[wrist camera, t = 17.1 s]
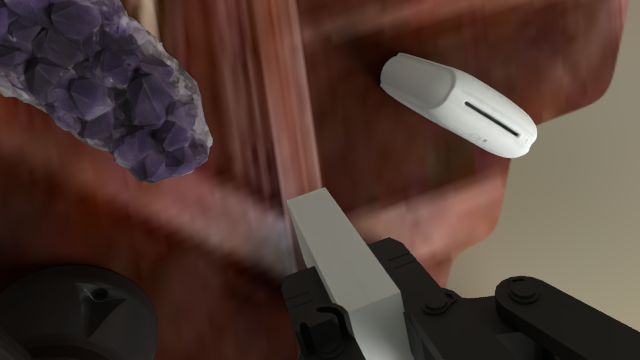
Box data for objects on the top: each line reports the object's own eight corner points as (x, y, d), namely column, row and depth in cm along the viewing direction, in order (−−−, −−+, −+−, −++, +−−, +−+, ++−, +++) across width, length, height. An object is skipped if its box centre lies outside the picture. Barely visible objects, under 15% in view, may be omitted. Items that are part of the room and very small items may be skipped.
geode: (254, 86, 41) (265, 131, 33) (173, 175, 44) (163, 239, 35) (27, -105, 32) (-41, -112, 23) (-60, 24, 34) (-149, 61, 26)
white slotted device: (472, 95, 47) (561, 127, 36) (449, 131, 48) (528, 175, 37) (394, 44, 43) (467, 64, 32) (370, 85, 44) (433, 118, 33)
